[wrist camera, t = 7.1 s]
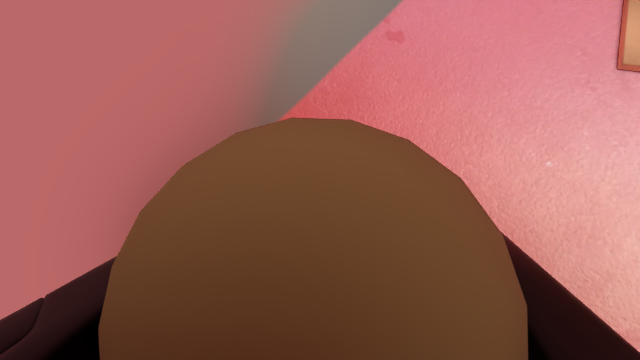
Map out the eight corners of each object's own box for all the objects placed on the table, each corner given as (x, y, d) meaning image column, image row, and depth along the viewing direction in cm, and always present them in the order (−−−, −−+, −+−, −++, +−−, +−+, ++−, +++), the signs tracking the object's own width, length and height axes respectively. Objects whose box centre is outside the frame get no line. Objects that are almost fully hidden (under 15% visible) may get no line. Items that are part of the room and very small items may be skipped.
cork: (477, 348, 13) (845, 610, 3) (309, 412, 13) (38, 878, 3) (401, 185, 15) (440, -49, 4) (254, 245, 15) (-39, 164, 5)
